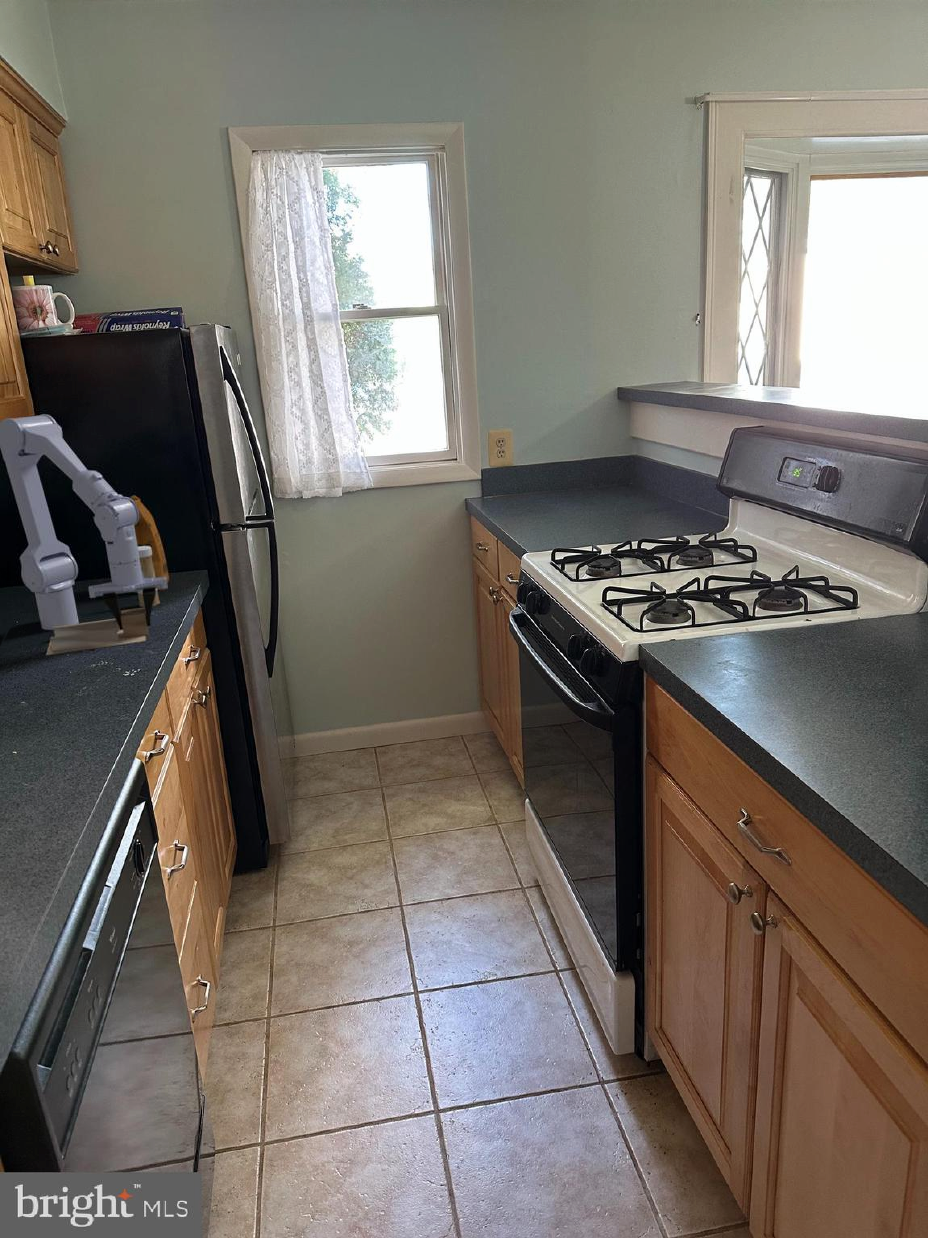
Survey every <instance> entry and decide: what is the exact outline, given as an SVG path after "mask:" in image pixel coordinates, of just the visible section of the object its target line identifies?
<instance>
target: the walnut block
mask: <svg viewBox="0 0 928 1238" xmlns="http://www.w3.org/2000/svg"><path fill="white" fill-rule="evenodd" d="M120 613H121V621H122V627H123V633H124V638H131V637H138V636H145V635H146V636H149V626H147V623H146V611H145V607H139V608H132V609H125V610H120Z"/></svg>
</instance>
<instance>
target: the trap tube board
mask: <svg viewBox="0 0 928 1238" xmlns="http://www.w3.org/2000/svg"><path fill="white" fill-rule="evenodd" d="M53 629H54V630H53V633H54V636H51V637H50V638H49V641H50V642H49V644H48V647H47V651H46V654H45V656H51V655H58V654H66V653H71V652H72V653H73V652H78V651H85V650H86V651H87V650H91V649H93V650H94V649H99V648H100V649H101V648H106V647H107V648H108V647H113V646H120V645H126V644H134V643H135V644H136V643H140V642H146V640H147V638H146V636H147V635H145V636H138V637H131V638H124V633H123V630H120V628H119V625H118V623H117V621H116V619H115V618H110V619H104V620H96V621H89V622H88V621H87V622H81V623H80V622H79V623H78V624H72V625H65V626H58V627H54V628H53Z"/></svg>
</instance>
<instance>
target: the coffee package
mask: <svg viewBox="0 0 928 1238" xmlns="http://www.w3.org/2000/svg"><path fill="white" fill-rule="evenodd" d="M129 498H130V499H132V500H133V502H134V503H135V504H136V506H137V508H138V511H139V520H138V522H137V524H136V525H134V528H135V534H136V540H137V546H138V547H139V546H150V547H151V549H152V562H153V567H154V572H155V578H160V577H166V580H167V585H168V584H169V580H170V577H169V570H168V565H167V560H166V555H165V551H164V547H163V543H162V540H161V536H160V533H159V531H158V529H157V526H156V523H155V519H154V517H153V515H152V514H151V512H150V510H149V509H147V507H145V505H144V503H142V502H141V499H140V497H137V495H132V496H130V497H129ZM157 591H165V589H162V588H158V589H157ZM134 593H135V594H138V592H137V591H135V592H134Z"/></svg>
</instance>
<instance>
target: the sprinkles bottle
mask: <svg viewBox="0 0 928 1238" xmlns="http://www.w3.org/2000/svg"><path fill="white" fill-rule="evenodd" d="M138 552H139V559H140V565H141V571H142V577H143V578H155V572H154V567H153V562H152V549H151V547H150V546H139V547H138ZM158 591H159V590H158ZM158 591H157V589H156V595H155V599H154V602H153V605H152V607H156V606H159V605H160V604H161V601H160V598H159V592H158ZM137 592H138V593H137V595H138V600H139V603H138V605H139V607H140V608H145V605H144V600H143V591H137Z"/></svg>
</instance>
